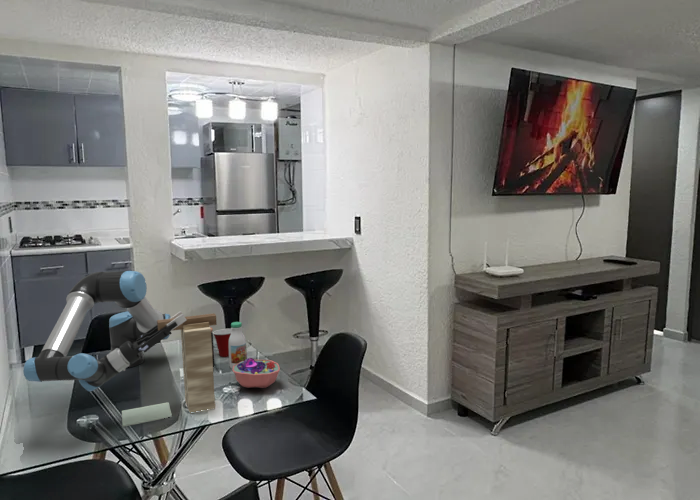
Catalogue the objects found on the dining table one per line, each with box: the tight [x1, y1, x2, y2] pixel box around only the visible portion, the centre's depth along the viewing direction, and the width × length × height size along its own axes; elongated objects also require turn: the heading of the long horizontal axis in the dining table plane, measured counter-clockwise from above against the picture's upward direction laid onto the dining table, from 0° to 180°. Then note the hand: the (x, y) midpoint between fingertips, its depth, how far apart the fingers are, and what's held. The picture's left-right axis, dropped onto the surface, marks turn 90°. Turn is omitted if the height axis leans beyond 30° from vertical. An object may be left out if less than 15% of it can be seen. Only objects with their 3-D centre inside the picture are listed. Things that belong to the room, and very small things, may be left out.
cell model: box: [231, 357, 281, 389], centre depth 207 cm, size 17×20×11 cm
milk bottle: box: [228, 321, 248, 370], centre depth 228 cm, size 8×8×20 cm
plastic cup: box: [212, 328, 232, 358], centre depth 244 cm, size 11×11×12 cm
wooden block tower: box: [180, 322, 216, 414], centre depth 189 cm, size 12×9×32 cm
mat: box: [121, 401, 173, 428], centre depth 184 cm, size 12×16×1 cm
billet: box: [157, 313, 217, 332], centre depth 186 cm, size 4×20×4 cm, turn 115°
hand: (183, 315), depth 185 cm, fingers closed on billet, 3 cm apart
